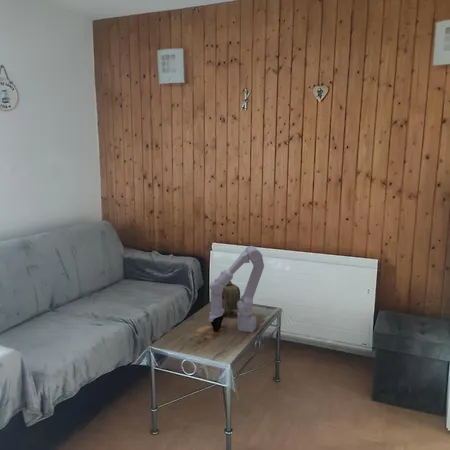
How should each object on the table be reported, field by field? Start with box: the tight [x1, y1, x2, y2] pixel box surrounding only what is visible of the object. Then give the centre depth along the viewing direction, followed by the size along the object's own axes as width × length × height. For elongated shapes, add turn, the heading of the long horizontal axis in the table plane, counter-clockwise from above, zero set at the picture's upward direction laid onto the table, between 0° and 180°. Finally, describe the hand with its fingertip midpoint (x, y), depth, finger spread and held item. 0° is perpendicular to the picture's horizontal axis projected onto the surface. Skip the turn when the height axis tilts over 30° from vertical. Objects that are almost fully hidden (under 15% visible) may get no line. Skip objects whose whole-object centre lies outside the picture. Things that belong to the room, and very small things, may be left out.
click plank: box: [195, 324, 228, 336], centre depth 223 cm, size 14×8×1 cm, turn 66°
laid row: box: [190, 330, 221, 340], centre depth 217 cm, size 14×5×1 cm, turn 66°
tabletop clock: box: [222, 280, 241, 319], centre depth 246 cm, size 14×9×25 cm, turn 25°
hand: (216, 330), depth 223 cm, fingers closed
